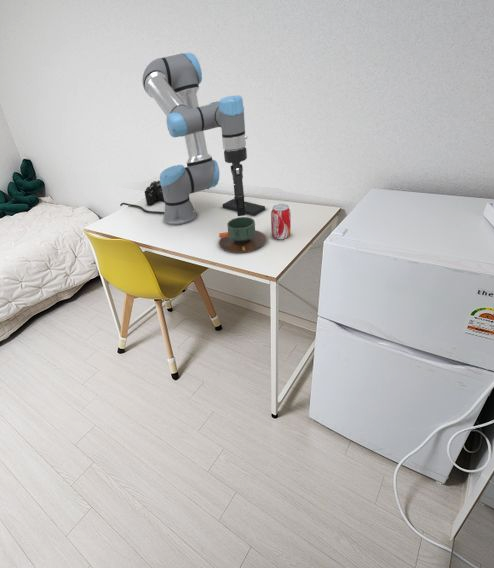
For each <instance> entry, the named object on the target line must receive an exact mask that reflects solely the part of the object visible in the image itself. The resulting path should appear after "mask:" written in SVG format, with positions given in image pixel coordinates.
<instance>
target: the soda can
mask: <svg viewBox="0 0 494 568" xmlns="http://www.w3.org/2000/svg"><path fill="white" fill-rule="evenodd" d="M291 215H292V214H291V209H290V206H289V205H288V204H285V203H279V204H274V205H273V206H272V210H271V212H270V221H271V222H270V225H271V228H270V229H271V236H272V237H273V238H274V239H277V240H286V239H287V238H289V237H290V236H291V231H292V228H291V227H292V221H291V220H292V219H291V217H292V216H291Z"/></svg>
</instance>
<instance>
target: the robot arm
mask: <svg viewBox="0 0 494 568" xmlns="http://www.w3.org/2000/svg"><path fill="white" fill-rule="evenodd" d="M202 72H203V71H202V67H201V64H200V62H199V60H198V58H197V56H196V55H195V54H194V53H193V52H184V53H183V52H181V53H178V54H172V55H168V56H163V57H159V58H155V59H153V60H151V61H150V62H149V63H148V64H147V66H146V67H145V69H144V71H143V74H142V80H141V82H142V86H143V89H144V91H145V93H146V94H147V95H148V96H149V97H150V98H152V99H154V101H155V102H156V104H157V105H158V106H159V108H160V110H162V112H163V114H164V115H165V116H166V118H165V119H166V120H165V121H166V127H167V131H168V132H169V135H170V136H171V137H172V138H179V137H180V138H181V137H184V141H185V145H186V151H187V156H188V159H187V160H186V166H185V165H183V164H176V165H172V166H169V167H167V168H165V169H163V170H162V171H161V173H160V174H159V180H160V185H161V187H162V192H163V197H164V201H163V202H164V211H160V210H159V211H158V210H157V211H155V210H147V209H145V208H143V206H141V205H137V204H131V203H127V202H122V203H120V204H119V206H120V207H122V206H123V205H125V206H128V207H133V208H138V209H141V210H142V211H143V212H144V213H148V214H160V215H162V214H163V220H164V223H165V224H167V225H171V226H181V225H185V224H188V223H190V222H192V221H194V220H196V217H197V211H196V208H195V207H194V205H193V203H192V202H191V199H190V194H194V193H198V192H201V191H205V190H210V189H212V188H215V187H216V186H217V185H218V184H219V181H220V167H219V165H218V164H219V163H218V162H217V160H215V159H213V156H212V155H211V154H209V153H208V149H207V142H206V136H205V132H204V131H208V130H213V129H216V128H221V139H222V149H223V150H224V151H223V157H224V162H225V163H227V164H231V165H230V172H231V176H232V181H233V182H232V183H233V193H234V197H233V199H235V202H236V204H237V211H236V213H237V214H236V215H237V217H245V216H246V214H245V203H244V201H245V193H244V183H243V179H244V174H243V173H244V168H243V164H242V163H241V162H244V161H246V160H247V159H248V153H247V151H248V150H247V147H246V146H247V141H246V140H247V139H248V136H247V135H246V123H245V106H244V100H243V97H242V95H237V94H236V95H228V96H224V97H221V98H220V99H219V101H218V100H217V101H212V102H210V103H209V104H205V105H201V106H199V100H198V95H197V93H198V91H199V89H200V84H201V83H202V81H203V76H202V75H203V73H202Z"/></svg>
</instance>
